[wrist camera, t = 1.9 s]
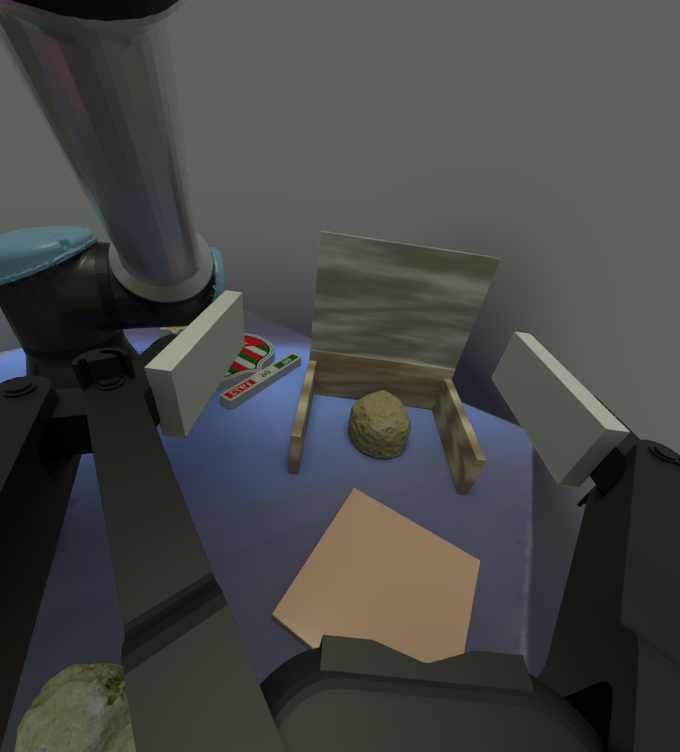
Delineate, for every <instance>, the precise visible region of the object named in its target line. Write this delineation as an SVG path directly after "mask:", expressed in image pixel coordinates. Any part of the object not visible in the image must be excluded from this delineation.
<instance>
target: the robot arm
mask: <svg viewBox="0 0 680 752" xmlns="http://www.w3.org/2000/svg"><path fill="white" fill-rule="evenodd" d="M184 2H185V0H0V43H1V45H2V47H3V49H4V51H5V52H6V54H7V56H8V58H9V60H10V61H11V63H12V65H13V67H14V68H15V70H16V72H17V74H18V76H19V77H20V79H21V81H22V83H23V85H24V86H25V88H26V90H27V92H28V93H29V95H30V97H31V99H32V100H33V102H34V104H35V106H36V108H37V109H38V111H39V113H40V115H41V116H42V118H43V120H44V122H45V124H46V126H47V127H48V129H49V131H50V133H51V134H52V136H53V138H54V140H55V141H56V143H57V145H58V147H59V149H60V150H61V152H62V154H63V156H64V158H65V159H66V161H67V163H68V165H69V167H70V168H71V170H72V172H73V174H74V175H75V177H76V179H77V181H78V183H79V184H80V186H81V188H82V190H83V191H84V193H85V195H86V197H87V199H88V200H89V202H90V204H91V206H92V208H93V209H94V211H95V213H96V215H97V216H98V218H99V220H100V222H101V223H102V225H103V227H104V229H105V231H106V233H107V234H108V236H109V238H110V240H111V243H102V242H98V241H97V240H98V239H97V236H96V235H94V233H93V231H92V230H90V229H88V228H85V227H77V226H51V227H40V228H31V229H24V230H18V231H13V232H8V233H4V234H0V307H1V309H2V311H3V313H4V315H5V316H6V319H7V320H8V322H9V324H10V326H11V328H12V329H13V332H14V333H15V335H16V337H17V339H18V341H19V343H20V344H21V346H22V348H23V350H24V352H25V354H26V375H27V376H24V377H16V378H12V379H11V380H10V379H9V380H7V381H4V382H2V383H0V749H1V746H2V742H3V738H4V735H5V731H6V727H7V724H8V720H9V717H10V713H11V709H12V706H13V702H14V698H15V695H16V691H17V687H18V684H19V680H20V676H21V673H22V669H23V666H24V662H25V658H26V655H27V651H28V647H29V644H30V640H31V636H32V633H33V629H34V626H35V622H36V618H37V615H38V611H39V607H40V604H41V600H42V596H43V593H44V589H45V586H46V582H47V578H48V575H49V571H50V567H51V564H52V560H53V556H54V553H55V549H56V545H57V542H58V538H59V535H60V531H61V527H62V524H63V520H64V516H65V513H66V509H67V505H68V502H69V498H70V495H71V491H72V487H73V484H74V480H75V476H76V473H77V469H78V465H79V462H80V458H81V455H82V454H87V453H93V455H94V460H95V466H96V471H97V477H98V483H99V488H100V494H101V500H102V505H103V511H104V517H105V522H106V528H107V534H108V539H109V545H110V551H111V556H112V562H113V568H114V573H115V579H116V585H117V590H118V596H119V601H120V607H121V613H122V618H123V624H124V631H125V640H124V643H123V646H122V666H123V674H124V681H125V687H126V693H127V699H128V706H129V712H130V718H131V724H132V730H133V737H134V743H135V749H136V752H680V455H679V454H677V453H676V452H674V451H673V450H671V449H670V448H668V447H666V446H664V445H662V444H659V443H656V442H654V441H650V440H640V439H639V438H638V437H637V436H636V435H635V434H634V433H633V432H632V431H631V430H630V429H629V428H628V427H627V426H626V425H625V424H624V423H623V422H622V421H621V420H620V419H618V417H615V415H614V413H612V412H611V411H610V410H609V409H607V407H606V406H605V405H604V404H603V403H602V402H601V401H600V400H599V399H598V398H597V397H595V396H593V395H592V394H591V393H590V392H589V391H588V390H587V389H586V388H585V387H584V386H583V385H582V384H580V382H579V381H578V380H577V379H576V378H575V377H573V376H572V375H571V374H570V373H569V372H568V371H567V370H566V369H565V368H564V367H563V366H562V365H561V364H560V363H559V362H558V361H557V360H556V359H555V358H554V357H553V356H552V355H551V354H550V353H549V352H548V351H547V350H546V349H545V348H544V347H543V346H542V345H541V344H540V343H539V342H538V341H537V340H536V339H535V338H534V337H533V336H532V335H531V334H527V333H520V332H514V334H513V336H512V338H511V340H510V342H509V344H508V346H507V348H506V350H505V352H504V354H503V356H502V358H501V360H500V362H499V364H498V366H497V368H496V370H495V372H494V374H493V376H492V380H493V381H494V383H495V385H496V386H497V388H498V389H499V391H500V393H501V394H502V396H503V397H504V399H505V401H506V402H507V404H508V405H509V407H510V408H511V410H512V412H513V413H514V415H515V417H516V418H517V420H518V421H519V423H520V425H521V426H522V428H523V429H524V431H525V433H526V434H527V436H528V437H529V439H530V440H531V442H532V444H533V445H534V447H535V448H536V450H537V452H538V453H539V455H540V456H541V458H542V460H543V461H544V463H545V464H546V466H547V468H548V469H549V471H550V472H551V474H552V476H553V477H554V479H555V480H556V482H557V484H558V485H566V486H574V487H580V485H581V484H582V483H583V482H584V481H585V480H586V479H587V478H588V477H589V476H590V477H591V478H592V480H593V481H594V482H595V484H596V485H595V486H594V487H593V489H591V490H590V491H589V492H588V493H587V495H585V496H584V498H583V499H582V500H581V501H580V502H579V503H578V504H577V505H578V506H580V507H581V506H582V505H583V504H586V507H585V512H584V515H583V520H582V523H581V528H580V531H579V535H578V539H577V543H576V547H575V551H574V555H573V559H572V563H571V567H570V571H569V575H568V579H567V583H566V587H565V591H564V595H563V599H562V603H561V607H560V611H559V615H558V619H557V622H556V627H555V630H554V634H553V639H552V643H551V646H550V650H549V655H548V658H547V661H546V664H545V666H544V668H543V670H542V672H541V673H540V674H539V676H538V677H537V678H535V677H534V676H532V675H531V674H529V673H528V670H527V667H526V664H525V661H524V658H523V655H513V654H504V653H494V652H485V651H475V650H474V651H471V652H467V653H464V654H460V655H456V656H453V657H449V658H445V659H442V660H438V661H435V662H430V663H425V662H422V661H419V660H417V659H415V658H413V657H410V656H408V655H406V654H404V653H401V652H399V651H397V650H395V649H392V648H390V647H388V646H386V645H383V644H381V643H379V642H377V641H374V640H370V639H361V638H351V637H342V636H332V635H323V636H322V639H321V643H320V646H319V647H318V648H314V649H311V650H307V651H305V652H303V653H300V654H298V655H296V656H294V657H293V658H291V659H289V660H288V661H286V662H284V663H283V664H282V665H281V666H279V667H278V668H277V669H276V670H274V671H273V672H272V673H271V674H270V675H269V676H268V677H267V678H266V679H265V680H264V681H263V682H262V683H261V684H260V685H259V683H258V680H257V678H256V675H255V673H254V670H253V668H252V665H251V662H250V660H249V657H248V655H247V652H246V650H245V647H244V645H243V642H242V640H241V637H240V635H239V632H238V630H237V627H236V625H235V622H234V620H233V617H232V614H231V612H230V609H229V607H228V604H227V602H226V600H225V597H224V595H223V592H222V590H221V588H220V586H219V584H218V583H217V582H216V580H215V578H214V575H213V573H212V570H211V568H210V565H209V562H208V560H207V557H206V555H205V552H204V550H203V547H202V545H201V542H200V539H199V537H198V534H197V532H196V529H195V527H194V524H193V521H192V519H191V516H190V514H189V511H188V509H187V506H186V504H185V501H184V498H183V496H182V493H181V491H180V488H179V486H178V483H177V480H176V478H175V475H174V473H173V470H172V468H171V465H170V463H169V460H168V457H167V455H166V452H165V450H164V447H163V445H162V442H161V440H160V437H159V434H158V432H157V429H156V427H157V425H158V424H159V423H160V426H161V429H162V433H163V435H168V436H176V437H184V438H186V437H187V435H188V434H189V432H190V430H191V429H192V427H193V426H194V424H195V422H196V421H197V419H198V418H199V416H200V414H201V413H202V411H203V410H204V408H205V407H206V405H207V403H208V402H209V400H210V399H211V397H212V395H213V394H214V392H215V391H216V389H217V387H218V386H219V384H220V383H221V381H222V380H223V378H224V376H225V375H226V373H227V372H228V370H229V368H230V367H231V365H232V364H233V362H234V360H235V359H236V357H237V356H238V354H239V353H240V351H241V349H242V348H243V346H244V345H245V340H244V321H243V301H242V293H240V292H233V291H226V287H225V286H226V285H225V272H224V265H223V260H222V256H221V254H220V252H219V251H218V250H217V249H216V248H214V247H210V246H208V245H207V244H206V242H205V240H204V239H203V238H202V237H201V236H200V235H199V234H198V233H197V231H196V224H195V218H194V210H193V203H192V196H191V190H190V181H189V174H188V167H187V160H186V153H185V146H184V139H183V131H182V124H181V117H180V110H179V103H178V96H177V88H176V82H175V74H174V66H173V59H172V52H171V45H170V38H169V30H168V23H167V18H168V17H169V16H170V15H172V14H173V13H174V12H176V11H177V10H178V9H179V8H180V7H181V6H182V4H183V3H184ZM184 326H188V327H187V328H186V329H184V330H183V331H182V332H181V333H180V334H179V335H174V334H169V335H167V336H164V337H162V338H160V339H158V340H156V341H155V342H154V343H153V344H152V345H151V346H150V347H149V348H147V349H146V350H145V351H144V352H143V354H140V355H139V354H138V353H137V351H136V350H135V349H134V348H133V346H132V345H131V344H130V342H129V341H128V340H127V339H126V337H125V335H124V332H123V329H136V328H160V327H184Z"/></svg>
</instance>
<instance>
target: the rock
mask: <svg viewBox="0 0 680 752" xmlns="http://www.w3.org/2000/svg"><path fill="white" fill-rule="evenodd" d="M14 752H136V749H135V743H134V737H133V730H132V724H131V718H130V712H129V706H128V699H127V693H126V687H125V681H124V674H123V666H122V665H120V664H112V663H108V662H104V663H103V662H102V663H93V664H73V665H71V666H69V667H67V668H65V669H64V670H62V671H61V672H60V673H59V674H57V675H56V676H54V677H52V678H51V679H50V680H49V681H48V682H47V683H46V684H45V685H44V686H43V687H42V690H41V692H40V694H39V696H38V697H37V698H36V699H35V700H34V701H33V703H32V707H31V708H30V709H29V710H28V711H26V713H25V714H24V716H23V718H22V721H21V723H20V724H19V726H18V729H17V739H16V745H15V751H14Z"/></svg>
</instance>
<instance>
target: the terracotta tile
mask: <svg viewBox="0 0 680 752" xmlns="http://www.w3.org/2000/svg"><path fill="white" fill-rule="evenodd" d="M479 565H480V560H478V559H476V558H475V557H473V556H471V555H469V554H468V553H466V552H464V551H463V550H461V549H459V548H457V547H456V546H454V545H452V544H450V543H449V542H447V541H445V540H444V539H442V538H440V537H438V536H437V535H435V534H433V533H431V532H430V531H428V530H426V529H424V528H423V527H421V526H419V525H418V524H416V523H414V522H412V521H411V520H409V519H407V518H405V517H404V516H402V515H400V514H399V513H397V512H395V511H393V510H392V509H390V508H388V507H386V506H385V505H383V504H381V503H380V502H378V501H376V500H374V499H373V498H371V497H369V496H367V495H366V494H364V493H362V492H361V491H359V490H357V489H355V488H354V489H353V491H352V492H351V494H350V495H349V497H348V498H347V500H346V501H345V503H344V504H343V506H342V508H341V509H340V511H339V512H338V514H337V515H336V517H335V518H334V520H333V521H332V523H331V524H330V526H329V528H328V529H327V531H326V532H325V534H324V535H323V537H322V538H321V540H320V541H319V543H318V544H317V546H316V547H315V549H314V551H313V552H312V554H311V555H310V557H309V558H308V560H307V561H306V563H305V564H304V566H303V567H302V569H301V571H300V572H299V574H298V575H297V577H296V578H295V580H294V581H293V583H292V584H291V586H290V587H289V589H288V591H287V592H286V594H285V595H284V597H283V598H282V600H281V601H280V603H279V604H278V606H277V607H276V609H275V611H274V612H273V614H272V618H273V619H275V620H276V621H277V622H278V623H279V624H281V625H282V626H283V627H284V628H285V629H287V630H288V631H289V632H290V633H291V634H293V635H294V636H295V637H296V638H297V639H299V640H300V641H301V642H302V643H303V644H305V645H306V646H307V647H308V648H309V649H314V648H318V647H319V646H320V643H321V639H322V636H323V635H332V636H342V637H351V638H361V639H370V640H374V641H377V642H379V643H381V644H383V645H386V646H388V647H390V648H392V649H395V650H397V651H399V652H401V653H404V654H406V655H408V656H410V657H413V658H415V659H417V660H419V661H422V662H425V663H430V662H435V661H438V660H442V659H445V658H449V657H453V656H456V655H460V654H464V649H465V644H466V638H467V632H468V627H469V621H470V616H471V610H472V604H473V599H474V593H475V587H476V582H477V576H478V570H479Z"/></svg>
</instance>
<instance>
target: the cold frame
mask: <svg viewBox="0 0 680 752" xmlns="http://www.w3.org/2000/svg"><path fill="white" fill-rule="evenodd" d="M499 261H500V258H498V257H492V256H485V255H479V254H472V253H466V252H459V251H453V250H446V249H439V248H433V247H426V246H420V245H413V244H407V243H400V242H393V241H387V240H380V239H373V238H367V237H360V236H353V235H347V234H340V233H334V232H327V231H321V236H320V247H319V257H318V270H317V280H316V292H315V303H314V315H313V327H312V337H311V349H310V359H309V364H308V368H307V372H306V376H305V380H304V384H303V388H302V392H301V396H300V400H299V404H298V408H297V413H296V417H295V421H294V425H293V429H292V433H291V441H290V458H289V473H297V474H298V469H299V464H300V459H301V454H302V448H303V443H304V438H305V433H306V428H307V423H308V418H309V412H310V407H311V402H312V397H313V394H319V395H326V396H334V397H341V398H349V399H356V400H359V399H361V398H363V397H365V396H367V395H369V394H371V393H374V392H377V391H381V390H385V391H386V392H388V393H391V394H392V395H393V396H395V397H397V398H398V399H399V400H400V401H401V402H402V404H403V406H409V407H417V408H424V409H432V411H433V414H434V417H435V421H436V424H437V427H438V430H439V434H440V437H441V440H442V444H443V447H444V450H445V453H446V457H447V460H448V463H449V467H450V470H451V473H452V476H453V480H454V483H455V486H456V490H457V493H459V494H467V492H468V491H469V489H470V487H471V486H472V484H473V482H474V481H475V479H476V477H477V476H478V474H479V472H480V471H481V469H482V467H483V466H484V464H485V463H486V461H487V460H486V458H485V456H484V454H483V451H482V449H481V447H480V444H479V442H478V440H477V437H476V435H475V433H474V431H473V428H472V426H471V424H470V421H469V419H468V417H467V415H466V412H465V410H464V408H463V405H462V403H461V401H460V399H459V396H458V394H457V392H456V389H455V387H454V385H453V382H452V380H451V379H452V377H453V374H454V372H455V368H456V366H457V363H458V361H459V358H460V356H461V353H462V351H463V349H464V346H465V344H466V341H467V339H468V336H469V334H470V332H471V329H472V327H473V324H474V322H475V320H476V317H477V315H478V312H479V310H480V307H481V305H482V303H483V300H484V298H485V295H486V293H487V290H488V288H489V286H490V283H491V281H492V278H493V276H494V274H495V271H496V268H497V266H498V264H499Z"/></svg>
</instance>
